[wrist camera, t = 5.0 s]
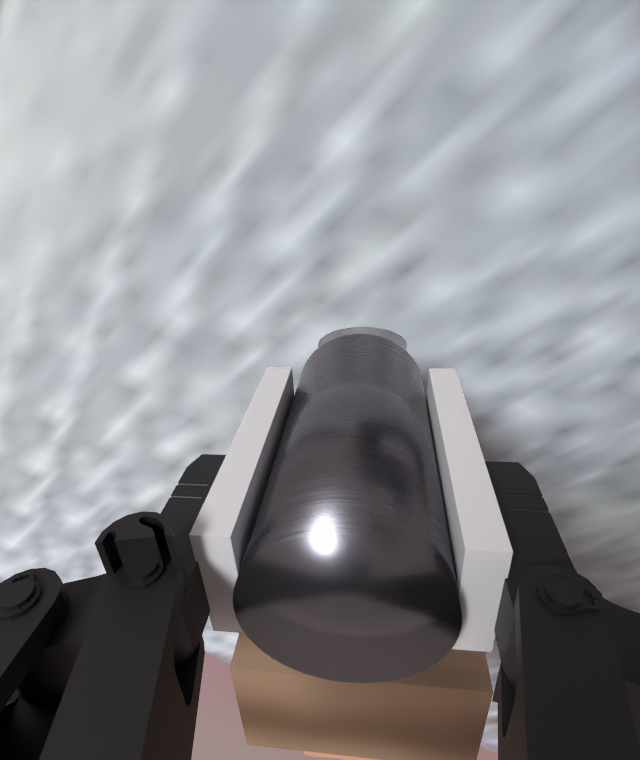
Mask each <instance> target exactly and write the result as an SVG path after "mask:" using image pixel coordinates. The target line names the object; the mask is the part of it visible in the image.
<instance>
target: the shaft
mask: <svg viewBox="0 0 640 760" xmlns="http://www.w3.org/2000/svg"><path fill="white" fill-rule="evenodd" d="M318 347H319V348H318V349H317V350H316V351H315V352H314V353H313V354H312V355H311V356H310V357H309V359H308V360H307V362H306V364H305V366H304V368H303V370H302V374H301V377H300V380H299V383H298V386H297V389H296V393H295V396H294V399H293V402H292V405H291V408H290V412H289V415H288V418H287V421H286V424H285V428H284V431H283V434H282V437H281V440H280V443H279V447H278V450H277V453H276V456H275V459H274V462H273V466H272V469H271V472H270V475H269V478H268V482H267V485H266V488H265V491H264V494H263V497H262V501H261V504H260V507H259V510H258V513H257V517H256V520H255V523H254V526H253V529H252V532H251V536H250V539H249V542H248V545H247V548H246V551H245V555H244V558H243V561H242V564H241V567H240V571H239V574H238V577H237V580H236V583H235V586H234V590H233V599H232V600H233V609H234V613H235V616H236V619H237V621H238V623H239V625H240V627H241V628H242V630H243V631H244V633H245V634H246V636H247V637H248V638H249V639H250V640H251V641H252V642H253V643H254V644H255V645H256V646H257V647H258V648H259V649H260V650H261V651H263V652H264V653H265V654H267V655H268V656H270V657H271V658H273V659H274V660H276V661H278V662H280V663H281V664H283V665H285V666H287V667H290V668H292V669H294V670H296V671H299V672H302V673H304V674H307V675H311V676H314V677H318V678H322V679H327V680H332V681H339V682H347V683H377V682H387V681H392V680H397V679H401V678H405V677H408V676H412V675H414V674H417V673H419V672H422V671H424V670H426V669H427V668H429V667H431V666H433V665H434V664H436V663H437V662H439V661H440V660H441V659H442V658H443V657H444V656H445V655H447V654H448V653H449V651H450V650H451V649H452V647H453V646H454V645H455V643H456V641H457V639H458V637H459V634H460V631H461V627H462V612H461V606H460V600H459V594H458V588H457V582H456V576H455V570H454V564H453V558H452V552H451V546H450V540H449V534H448V529H447V523H446V517H445V511H444V505H443V499H442V493H441V487H440V481H439V475H438V469H437V463H436V457H435V451H434V446H433V440H432V434H431V428H430V422H429V416H428V410H427V404H426V398H425V392H424V386H423V380H422V376H421V373H420V370H419V368H418V366H417V364H416V362H415V361H414V359H413V358H412V357H411V356H410V355H409V354H408V352H407V351H406V341H405V340H404V338H403V337H401V336H400V335H398V334H396V333H394V332H392V331H389V330H385V329H380V328H372V327H353V328H346V329H341V330H337V331H334V332H331V333H329V334H327V335H325V336H324V337H323V338H322V339H321V340H320V341H319V345H318Z"/></svg>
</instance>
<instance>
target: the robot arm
mask: <svg viewBox="0 0 640 760" xmlns="http://www.w3.org/2000/svg"><path fill="white" fill-rule="evenodd" d="M293 399H294V388H293V376H292V367H267V368H266V370H265V373H264V375H263V377H262V379H261V381H260V383H259V385H258V388H257V390H256V392H255V394H254V396H253V398H252V401H251V403H250V405H249V407H248V409H247V411H246V413H245V416H244V418H243V420H242V422H241V424H240V426H239V428H238V431H237V433H236V435H235V437H234V439H233V441H232V444H231V446H230V448H229V450H228V452H227V454H226V455H208V454H202V455H201V456H200V457H198V458H197V459H196V460H195V461H194V462H192V463H191V464H190V465H189V466H188V467H187V468H186V470H185V472H184V473H183V475H182V477H181V479H180V480H179V482H178V483H179V484H178V485H177V486H176V488H175V489H174V491H173V493H172V495H171V498H169V500H168V502H167V504H166V505H165V507H164V509H163V511H162V512H161V514H159V513H156V512H139V513H135V514H130V515H127V516H125V517H123V518H121V519H119V520H117V521H115V522H113V523H112V524H111V525H110V526H108V527H107V528H106V529H105V530H104V531H102V533H101V534H100V536H99V537H98V539H97V540H96V542H95V545H96V547H97V550H98V552H99V555H100V558H101V560H102V563H103V565H104V568H105V570H106V574H103V575H99V576H96V577H91V578H87V579H82V580H78V581H73V582H68V583H64V584H63V583H62V581H61V579H60V578H59V576H58V575H57V573H56V572H55V571H52V570H49V569H46V568H38V569H29V570H26V571H24V572H21V573H18V574H15V575H13V576H12V577H10V578H8V579H7V580H5V581H3V582H2V583H0V760H191V756H192V748H193V740H194V732H195V724H196V717H197V709H198V701H199V693H200V685H201V678H202V670H203V662H204V654H205V651H204V641H203V637H202V633H203V630H204V628H205V625H206V622H207V619H208V616H210V619H211V623H212V627H213V630H214V631H226V632H239V633H244V631H243V630H242V628H241V627H240V625H239V623H238V621H237V619H236V616H235V613H234V609H233V600H232V599H233V590H234V586H235V583H236V580H237V577H238V574H239V571H240V567H241V564H242V561H243V558H244V555H245V551H246V548H247V545H248V542H249V539H250V536H251V532H252V529H253V526H254V523H255V520H256V517H257V513H258V510H259V507H260V504H261V501H262V497H263V494H264V491H265V488H266V485H267V482H268V478H269V475H270V472H271V469H272V466H273V462H274V459H275V456H276V453H277V450H278V447H279V443H280V440H281V437H282V434H283V431H284V428H285V424H286V421H287V418H288V415H289V412H290V408H291V405H292V402H293ZM426 404H427V410H428V416H429V422H430V428H431V434H432V440H433V446H434V451H435V457H436V463H437V469H438V475H439V481H440V487H441V493H442V499H443V505H444V511H445V517H446V523H447V529H448V534H449V540H450V546H451V552H452V558H453V564H454V570H455V576H456V582H457V588H458V594H459V600H460V606H461V612H462V627H461V631H460V634H459V637H458V639H457V641H456V643H455V645H454V646H453V647H452V649H457V650H469V651H482V652H492V650H493V645H494V640H495V636H496V640H497V645H498V649H499V653H500V658H501V665H500V669H499V673H498V678H497V682H496V686H495V691H494V695H493V700H492V701H494V702H498V760H640V613H637V612H634V611H630V610H627V609H625V608H622V607H620V606H618V605H615V604H613V603H611V602H609V601H608V600H606V599H604V598H603V597H602V595H601V593H600V592H599V591H598V590H597V589H596V587H595V586H594V585H593V584H592V583H591V582H590V581H589V580H587V579H586V578H584V577H583V576H581V575H580V574H578V573H577V572H576V570H575V569H574V567H573V564H572V562H571V560H570V558H569V555H568V553H567V551H566V548H565V546H564V544H563V542H562V539H561V537H560V535H559V532H558V530H557V528H556V526H555V523H554V521H553V519H552V517H551V514H550V513H548V507H547V505H546V503H545V501H544V498H542V494H541V491H540V489H539V487H538V485H537V482H536V480H535V478H534V477H533V476H532V475H531V474H530V473H529V472H528V471H527V470H526V469H525V468H524V467H523V466H522V465H521V464H520V463H515V462H485V460H484V457H483V454H482V451H481V448H480V444H479V441H478V438H477V435H476V432H475V429H474V425H473V422H472V419H471V416H470V413H469V409H468V406H467V403H466V400H465V397H464V393H463V390H462V387H461V384H460V381H459V377H458V374H457V371H456V369H438V368H429V372H428V386H427V401H426Z"/></svg>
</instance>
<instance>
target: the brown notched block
mask: <svg viewBox="0 0 640 760" xmlns="http://www.w3.org/2000/svg"><path fill="white" fill-rule="evenodd" d="M230 670H231V675H232V679H233V684H234V688H235V692H236V697H237V701H238V706H239V710H240V715H241V719H242V724H243V728H244V732H245V737H246V741H247V745H255V746H263V747H272V748H282V749H290V750H299V751H307V752H316V753H325V754H334V755H343V756H351V757H360V758H369V759H378V760H476V759H477V755H478V751H479V747H480V743H481V739H482V735H483V731H484V727H485V723H486V719H487V715H488V710H489V706H490V702H491V698H492V694H493V690H492V685H491V680H490V675H489V670H488V665H487V660H486V655H485V652H482V651H469V650H457V649H451V650H450V651H449V653H448V654H447V655H445V656H444V657H443V658H442V659H441V660H440V661H439V662H437V663H436V664H434V665H433V666H431V667H429V668H427V669H426V670H424V671H422V672H419V673H417V674H414V675H412V676H408V677H405V678H401V679H397V680H392V681H387V682H377V683H347V682H339V681H332V680H327V679H322V678H318V677H314V676H311V675H307V674H304V673H302V672H299V671H296V670H294V669H292V668H290V667H287V666H285V665H283V664H281V663H280V662H278V661H276V660H274V659H273V658H271V657H270V656H268V655H267V654H265V653H264V652H263V651H261V650H260V649H259V648H258V647H257V646H256V645H255V644H254V643H253V642H252V641H251V640H250V639H249V638H248V637H247V636H246V634H245V633H239V637H238V640H237V644H236V647H235V651H234V655H233V658H232V662H231V666H230Z"/></svg>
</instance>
